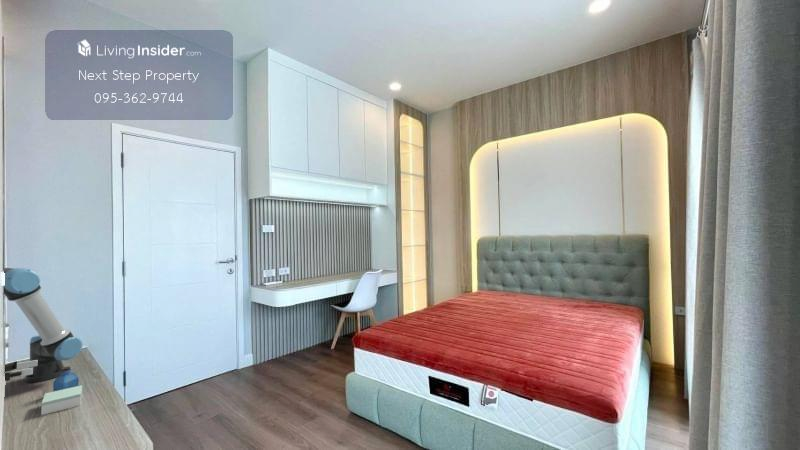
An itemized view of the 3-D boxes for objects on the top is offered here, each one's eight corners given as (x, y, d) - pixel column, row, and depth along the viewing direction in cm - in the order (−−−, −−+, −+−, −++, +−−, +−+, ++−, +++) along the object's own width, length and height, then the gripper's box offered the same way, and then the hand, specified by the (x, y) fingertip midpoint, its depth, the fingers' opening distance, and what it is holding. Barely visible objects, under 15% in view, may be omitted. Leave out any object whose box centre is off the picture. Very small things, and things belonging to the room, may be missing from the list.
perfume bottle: (63, 396, 158) (63, 370, 159) (53, 395, 159) (53, 369, 160) (78, 390, 164) (78, 365, 165) (68, 389, 166) (68, 364, 166)
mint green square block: (45, 404, 150) (45, 393, 151) (81, 395, 158) (82, 385, 159) (41, 415, 141) (41, 403, 142) (80, 405, 149) (80, 393, 150)
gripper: (-31, 379, 151) (38, 367, 165) (-50, 398, 132) (30, 383, 146) (-30, 362, 151) (39, 352, 165) (-49, 379, 132) (31, 365, 146)
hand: (35, 366), depth 155 cm, fingers open, 13 cm apart
